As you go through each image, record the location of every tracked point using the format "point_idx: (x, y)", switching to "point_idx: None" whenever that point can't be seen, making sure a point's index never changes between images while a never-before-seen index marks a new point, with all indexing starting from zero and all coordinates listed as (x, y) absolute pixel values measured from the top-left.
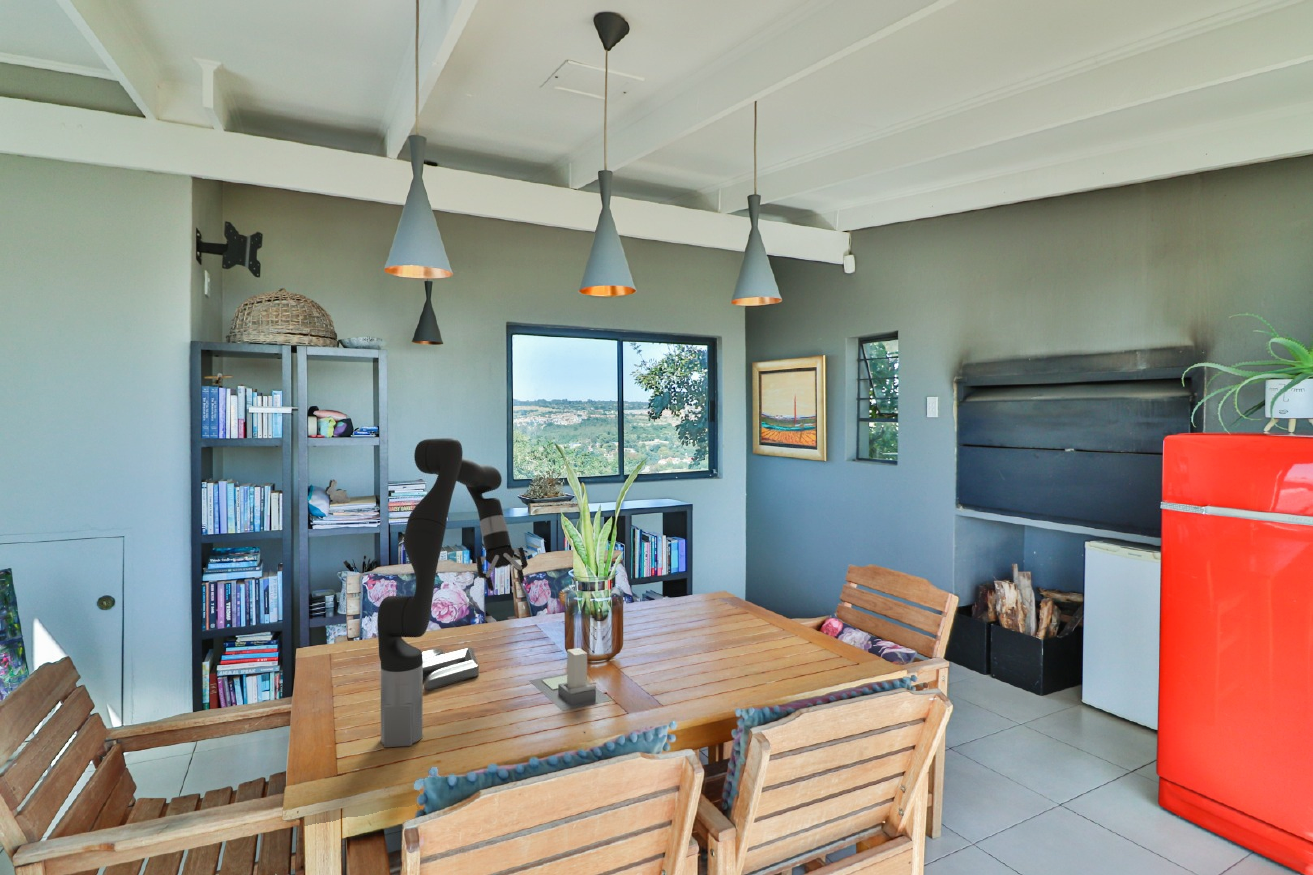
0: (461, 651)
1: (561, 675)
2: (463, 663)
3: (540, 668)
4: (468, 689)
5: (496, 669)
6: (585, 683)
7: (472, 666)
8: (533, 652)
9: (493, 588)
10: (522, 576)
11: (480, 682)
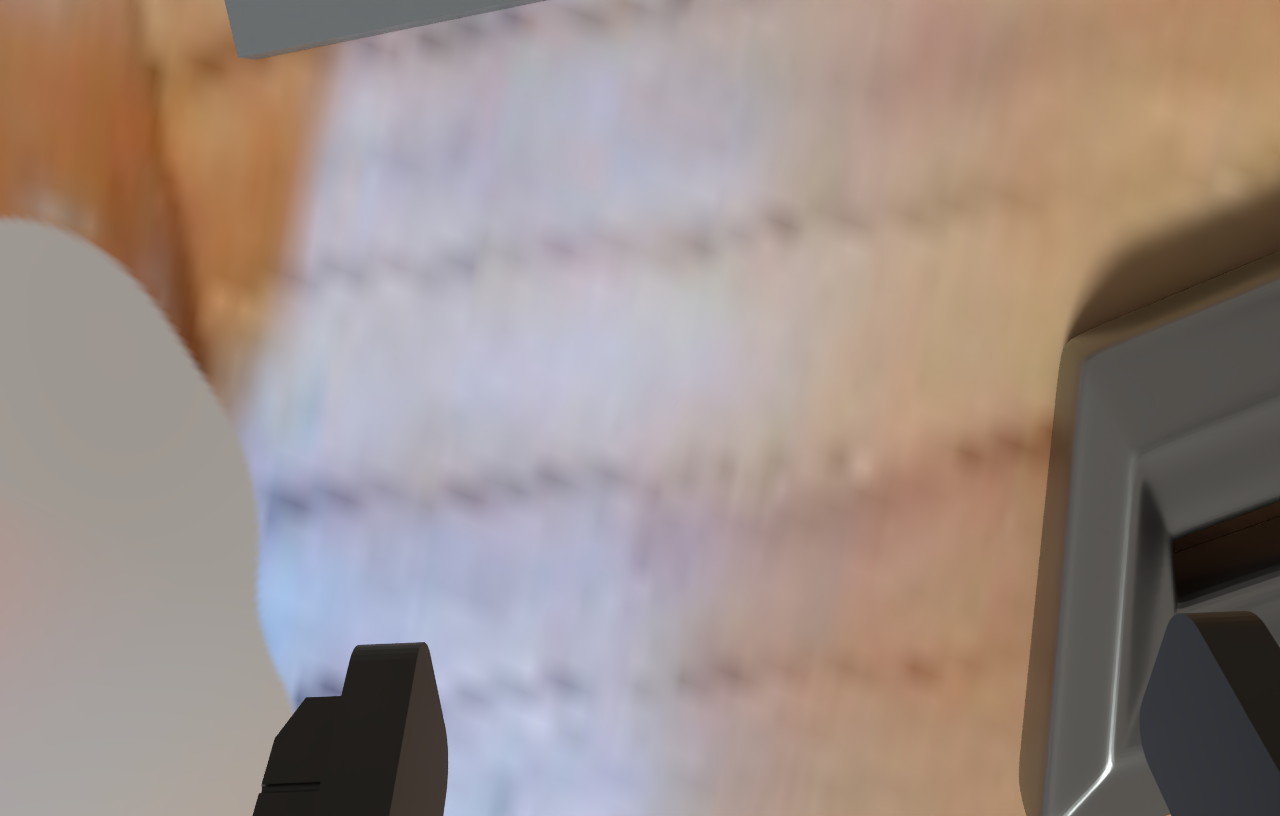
0: None
1: (362, 5)
2: (1245, 393)
3: (501, 349)
4: (1224, 39)
5: (868, 462)
6: None
7: (1147, 354)
8: (490, 746)
9: (1196, 619)
10: (293, 809)
11: (1076, 185)
